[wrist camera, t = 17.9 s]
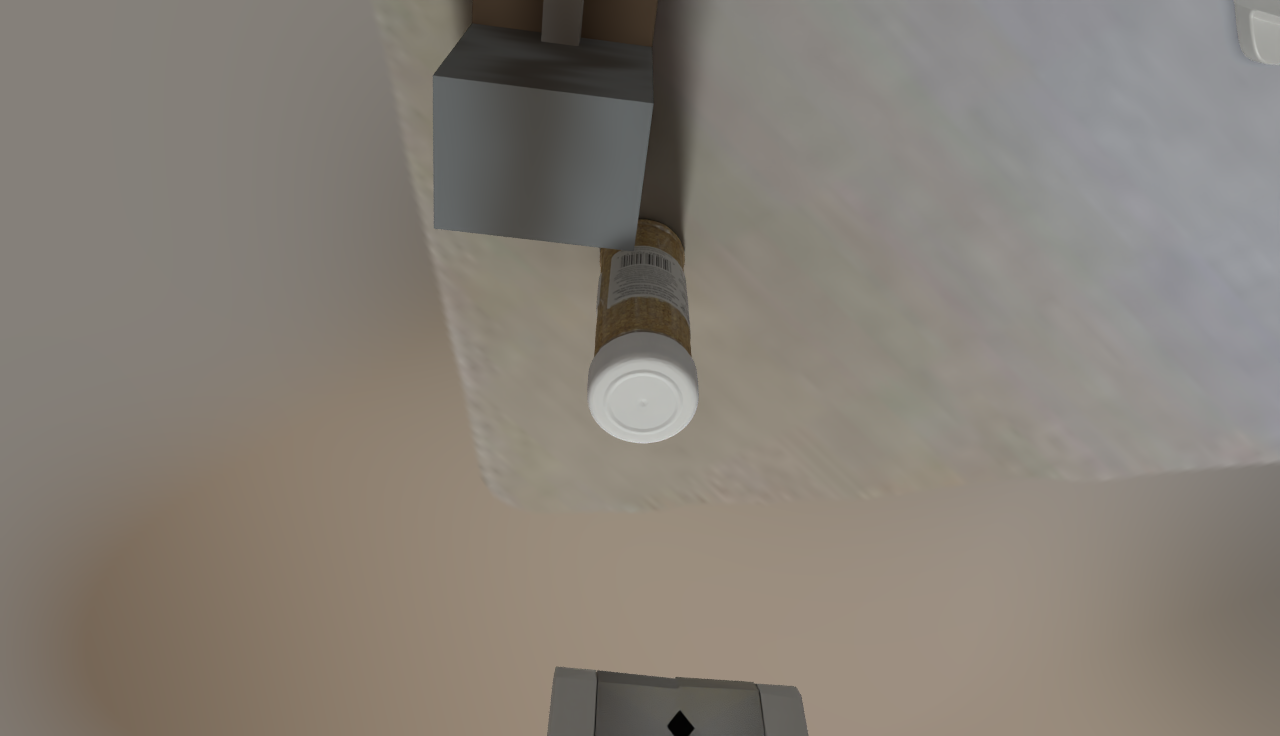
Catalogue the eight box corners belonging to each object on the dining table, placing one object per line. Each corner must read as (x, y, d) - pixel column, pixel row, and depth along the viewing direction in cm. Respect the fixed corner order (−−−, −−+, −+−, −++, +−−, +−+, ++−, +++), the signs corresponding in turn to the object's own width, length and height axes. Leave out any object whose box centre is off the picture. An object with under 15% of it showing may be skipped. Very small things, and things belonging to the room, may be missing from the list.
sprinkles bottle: (587, 275, 47) (569, 427, 36) (619, 202, 45) (611, 340, 33) (665, 304, 48) (671, 461, 37) (700, 234, 45) (719, 379, 34)
